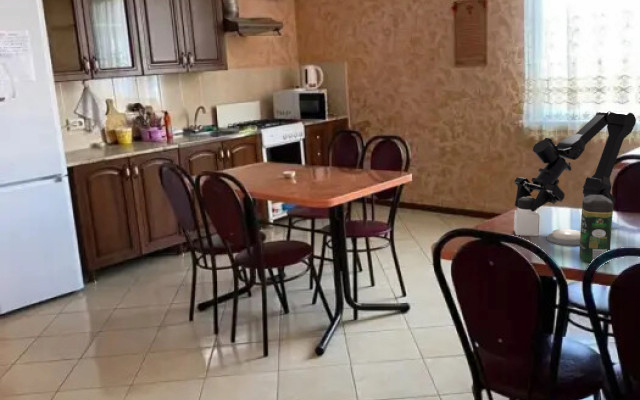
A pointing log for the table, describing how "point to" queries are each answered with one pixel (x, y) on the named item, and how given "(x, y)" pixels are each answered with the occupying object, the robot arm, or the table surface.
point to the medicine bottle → (526, 218)
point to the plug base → (569, 243)
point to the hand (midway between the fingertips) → (523, 208)
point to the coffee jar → (595, 226)
